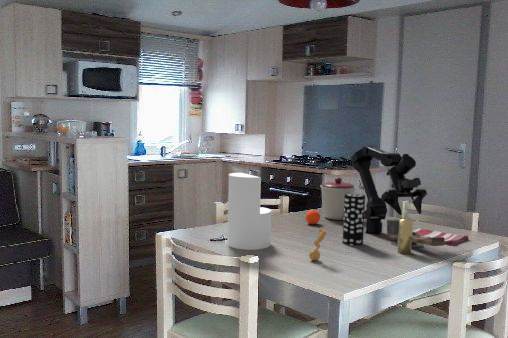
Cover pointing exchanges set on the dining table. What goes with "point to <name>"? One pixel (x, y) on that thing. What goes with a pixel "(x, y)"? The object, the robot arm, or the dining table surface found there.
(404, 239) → the brass weight
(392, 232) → the balance beam
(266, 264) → the dining table surface
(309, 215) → the clementine
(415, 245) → the beam stand
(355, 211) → the spotted tube
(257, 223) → the white stepped pillar
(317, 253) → the figurine
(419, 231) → the dish towel
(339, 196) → the canister
